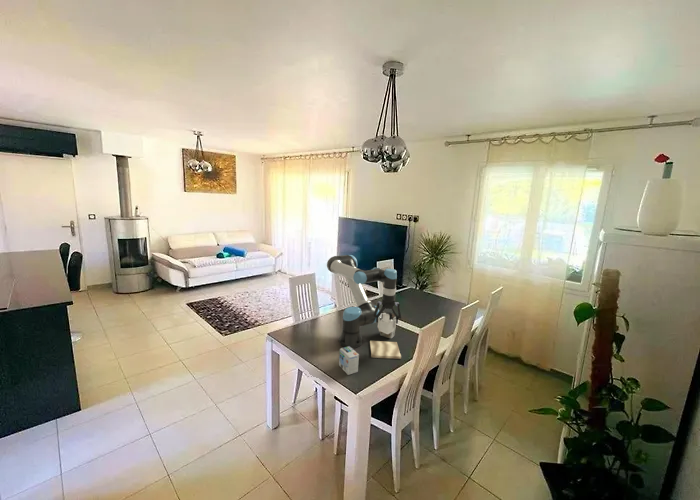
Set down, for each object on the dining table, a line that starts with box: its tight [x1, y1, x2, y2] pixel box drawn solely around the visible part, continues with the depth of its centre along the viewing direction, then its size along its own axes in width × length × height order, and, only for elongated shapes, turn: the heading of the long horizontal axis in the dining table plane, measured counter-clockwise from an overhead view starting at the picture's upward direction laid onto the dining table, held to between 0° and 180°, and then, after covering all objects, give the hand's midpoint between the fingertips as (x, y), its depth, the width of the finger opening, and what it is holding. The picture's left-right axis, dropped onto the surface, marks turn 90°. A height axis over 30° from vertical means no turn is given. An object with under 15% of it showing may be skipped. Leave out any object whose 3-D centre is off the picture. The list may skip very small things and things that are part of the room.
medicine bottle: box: [378, 311, 395, 334], centre depth 187 cm, size 7×7×12 cm
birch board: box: [369, 340, 402, 360], centre depth 190 cm, size 18×18×2 cm
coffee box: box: [379, 311, 396, 339], centre depth 209 cm, size 9×6×16 cm
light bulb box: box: [338, 346, 360, 376], centre depth 168 cm, size 11×7×11 cm, turn 32°
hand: (386, 327), depth 187 cm, fingers closed on medicine bottle, 10 cm apart
